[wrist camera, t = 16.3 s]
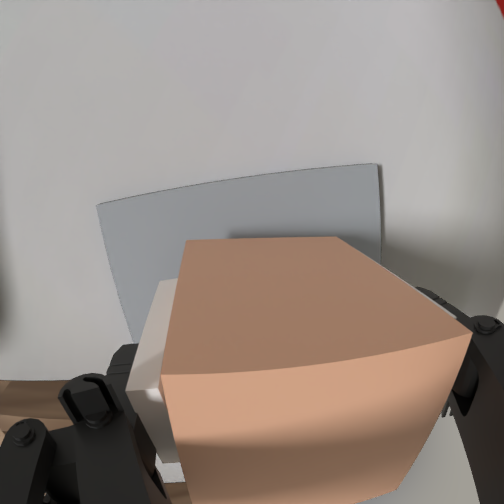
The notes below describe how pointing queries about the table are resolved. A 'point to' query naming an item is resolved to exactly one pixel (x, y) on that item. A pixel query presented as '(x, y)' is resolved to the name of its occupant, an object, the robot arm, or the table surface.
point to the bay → (51, 416)
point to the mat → (233, 223)
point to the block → (301, 371)
